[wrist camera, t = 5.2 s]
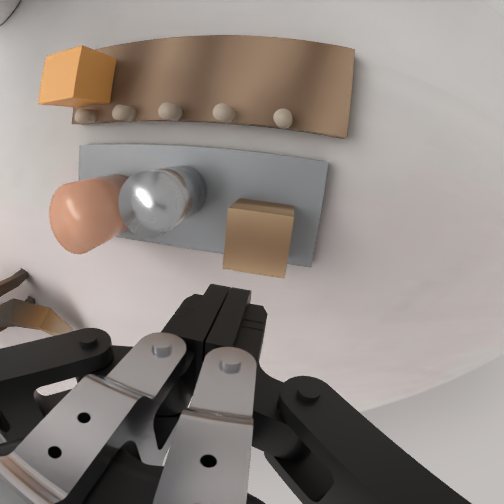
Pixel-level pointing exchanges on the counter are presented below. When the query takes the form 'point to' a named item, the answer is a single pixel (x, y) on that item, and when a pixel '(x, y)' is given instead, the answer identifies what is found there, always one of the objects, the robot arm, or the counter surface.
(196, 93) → the rail
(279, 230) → the oak block
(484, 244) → the counter surface
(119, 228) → the salmon domed cylinder
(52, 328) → the toy
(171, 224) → the metal canister
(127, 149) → the slate tray
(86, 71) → the orange block
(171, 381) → the robot arm
